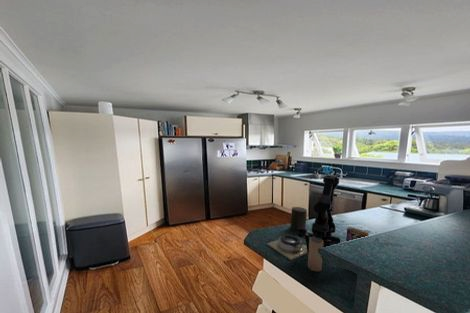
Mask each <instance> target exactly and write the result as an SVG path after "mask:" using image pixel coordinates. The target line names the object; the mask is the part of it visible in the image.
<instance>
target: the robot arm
mask: <svg viewBox="0 0 470 313" xmlns="http://www.w3.org/2000/svg"><path fill="white" fill-rule="evenodd" d="M322 183H324V185H323V189H322V193H321V196H320V197H318V199H317V201H316V203H315V204H314V206H313V211H314V216H315V219H314V222H312V224H311V232H309V231H308V229H307V228H306V229H303V228H299V229H298V231H297V237H298V238H300V239H303V240H304V241H305V245H306V246H307V253H308V252H309V239H310V238H311V237H312V236H318V237H320V238H321V239H322V240H323V243H324V245H323V248H324V247H326V246H330V245H333V244H338V243H340V244H341V238H340V236H339V237H338V236H334V235H332V234H334V233H335V234H336V224H335V222H334V217H333V216H332V215H333V214H332V212H333V211H334V206H333V204H334V194H335V193H334V192H335V190H336V189H337V188H338V185H339V183H340V178H339V177H338V175H330V174H326V175H325V176H323V179H322ZM308 254H309V253H308ZM323 258H324V257H323V256H322V259H323Z"/></svg>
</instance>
